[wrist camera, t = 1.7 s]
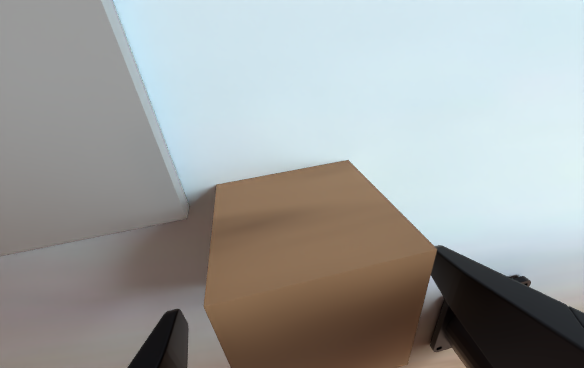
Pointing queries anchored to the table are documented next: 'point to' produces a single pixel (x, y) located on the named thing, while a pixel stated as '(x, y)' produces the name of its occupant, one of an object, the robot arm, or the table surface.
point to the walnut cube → (314, 272)
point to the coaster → (76, 129)
